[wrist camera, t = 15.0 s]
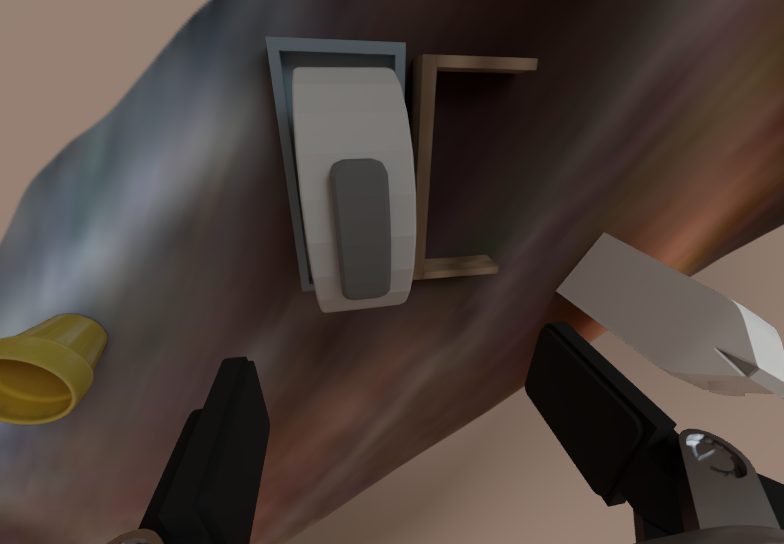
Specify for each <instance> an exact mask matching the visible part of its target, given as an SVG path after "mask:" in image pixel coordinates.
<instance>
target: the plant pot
mask: <svg viewBox="0 0 784 544" xmlns="http://www.w3.org/2000/svg"><path fill="white" fill-rule="evenodd" d="M106 344H107V334H106V332H105V330H104V329H103V328H102V326H100V325H99V324H98V323H97V322H95V321H94V320H92V319H90V318H87V317H85V316H81V315H76V314H62V315H58V316H55V317H53V318H51V319H49V320H47V321H45V322H43V323H41V324H39V325H37V326H35V327H33V328H31V329H29V330H27V331H25V332H22V333H20V334H18V335H16V336H13V337H6V338H2V339H0V421H1V422H6V423H12V424H23V425H29V424H42V423H48V422H52V421H55V420H58V419H60V418H62V417H64V416H66V415H67V414H69V413H70V412H71V411H72V410H73V409H74V408H75V407H76V405H77V404H78V403H79V402H80V401H81V399H82V398H83V397H84V395H85V394H86V393H87V391H88V390H89V389H90V387H91V385H92V383H93V371H94V369H95V366H96V364H97V362H98V360H99V358H100V356H101V354H102V352H103V350H104V348H105V346H106Z"/></svg>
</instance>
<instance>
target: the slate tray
mask: <svg viewBox="0 0 784 544" xmlns="http://www.w3.org/2000/svg"><path fill="white" fill-rule="evenodd" d="M266 44H267V51H268V58H269V65H270V72H271V78H272V85H273V92H274V99H275V106H276V113H277V120H278V127H279V134H280V141H281V148H282V155H283V162H284V168H285V175H286V182H287V189H288V196H289V203H290V210H291V217H292V224H293V231H294V238H295V245H296V252H297V258H298V265H299V272H300V279H301V286H302V292H305V291H315V287H314V282H313V278H312V272H311V266H310V260H309V255H308V249H307V243H306V236H305V228H304V221H303V214H302V206H301V199H300V190H299V180H298V171H297V162H296V151H295V138H294V125H293V107H292V80H293V70H294V69H296V68H297V67H386V68H389V69H392V70H393V71H394V72H395V74H396V76H397V79H398V81H399V83H400V85H401V89H402V93H403V97H405V55H406V43H402V42H379V41H356V40H333V39H310V38H288V37H266Z"/></svg>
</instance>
